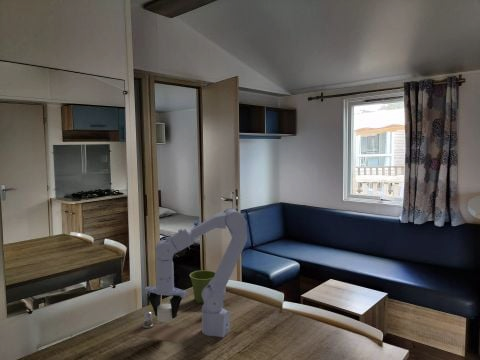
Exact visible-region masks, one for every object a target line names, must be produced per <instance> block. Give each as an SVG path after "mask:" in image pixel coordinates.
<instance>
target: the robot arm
mask: <svg viewBox="0 0 480 360" xmlns="http://www.w3.org/2000/svg"><path fill="white" fill-rule="evenodd" d="M247 225H248V223H247V220H246V219H245V217H244V215H243V213H241V212H240V211H237V209H236V208H233V207H228V208H226V209H224V210H222V211H220V212H217V213H216V214H214V215H213V216H211V217H209V218H208V219H206V220H204V221H203V222H201V223H199V224H198V225H196V226H195V227H193V228H191V229H189V228H184V229H182V228H180V229H178V232H177V233H175V234H173V235H171V236H167V237H165V239H162V240H159V241H158V242H157V243H156V245H155V248H154V251H155V255H156V258H155V262H156V263H155V273H156V274H155V278H156V286H146V287H145V288H144V294H145V295H148V294H149V295H148V296H147V300H148V301H149V303H150V305H151V307H152V309H153V312H154V315H155V317H157V307H158V306H159V305H161V299H162V296H169V297H171V298H170V299H169V304H171V308H172V318H174V319H176V318H177V316H178V311H179V307H180V304H181V302H182V300H183V299H185V298H186V297H187V290H185V289H180V288H177V287H175V276H174V274H175V271H174V261H173V258H174V255H175V254H177V253H179V252H181V251H183V250H185V249H186V248H189V246H192V245H194V243H195V240H196V238H199V237H201V236H202V235H204V234H207V233H209V232H211V231H213V230H215V229H223V230H224V229H225V230H226V229H228V232H229V234H230V236H231V239H230V241H229V243H228V246H227V247H226V249H225V252H224V254H223V256H222V258H221V261H220V263H219V265H218V267H217V268H216V269H217V270H216V271H215V272H216V273H215V275H214V278H213V279H212V280H211V281H210V282H209V284H208V285H207V286H206V287H205V288H204V289H203V290H202V294H201V296H202V299H203V300H204V303H202V306H201V333H202V334H204V336H208V337H218V338H225V337H226V335H228V333H229V332H230V331H231V312H230V311H229V310H227V309H225V308H224V307H223V306H224V298H225V295H226V290H227V289H226V288H227V284H228V282H229V281H230V278H231V276H232V275H233V271H234V270H235V267H236V265H237V263H238V261H239V259H240V256H241V254H242V253H243V251H244V248H245V246H246V244H247V242H248V231H247V230H248V229H247Z"/></svg>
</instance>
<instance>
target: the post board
mask: <svg viewBox="0 0 480 360" xmlns="http://www.w3.org/2000/svg"><path fill="white" fill-rule="evenodd" d="M191 331H192V329H190V328H183V327H179V326H175V325H168V324H164V323H159V322H154V321H153V311H152V310H146V311H144V312H143V321H142V322H140V323H139V324H137V325H136V326H134V327H133V328H132V329H130V330H129V331H127V332H126V334H129V335H134V336H139V337H143V338H147V339H148V338H149V339H153V340H157V341H158V340H159V341H163V342H168V343H172V344H176V345H177V344H178V343H180V342H181V340H183V339H184V338H185V337H186V336H188V334H190V333H191Z"/></svg>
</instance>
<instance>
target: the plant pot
mask: <svg viewBox="0 0 480 360" xmlns="http://www.w3.org/2000/svg"><path fill="white" fill-rule="evenodd" d="M215 273H216V271H212V270H195V271H193V272H190V274H189V277H190V281H191V284H192V289H193V290H192V291H193V296H194V301H195V302H196V303H198V304H200V303H201V304H204V300H203V299H202V296H201V294H202V290H203V289H204V288H205V287H206V286H207V285H208V284H209V282H210V281H211V280H212V279H213V278H214V275H215Z"/></svg>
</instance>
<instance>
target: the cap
mask: <svg viewBox="0 0 480 360" xmlns="http://www.w3.org/2000/svg"><path fill="white" fill-rule="evenodd" d="M156 319H157V321H158V323H159V322H160V323H169V322H172V321H174V320H175V318H172V308H171V303H160V305H159V306H158V307H157V316H156Z"/></svg>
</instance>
